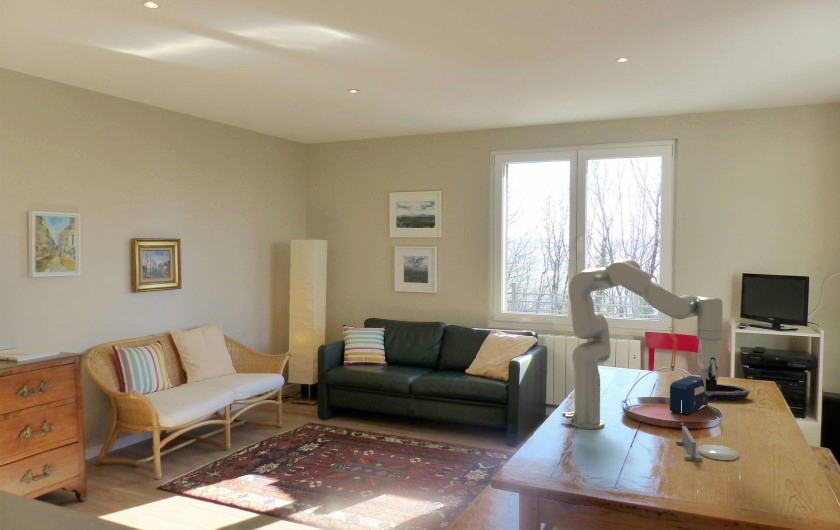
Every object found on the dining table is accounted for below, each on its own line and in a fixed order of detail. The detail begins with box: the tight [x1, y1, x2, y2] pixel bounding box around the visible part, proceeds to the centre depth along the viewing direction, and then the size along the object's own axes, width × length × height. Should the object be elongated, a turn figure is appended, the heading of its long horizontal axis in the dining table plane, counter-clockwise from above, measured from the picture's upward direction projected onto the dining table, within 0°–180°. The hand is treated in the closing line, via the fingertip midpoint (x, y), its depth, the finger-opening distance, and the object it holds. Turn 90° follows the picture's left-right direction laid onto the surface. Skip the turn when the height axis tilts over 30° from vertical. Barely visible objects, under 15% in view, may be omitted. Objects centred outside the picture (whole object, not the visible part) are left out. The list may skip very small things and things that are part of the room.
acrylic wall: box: [675, 425, 703, 462], centre depth 198 cm, size 5×16×6 cm, turn 166°
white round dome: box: [697, 444, 739, 461], centre depth 196 cm, size 12×12×1 cm
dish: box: [708, 383, 751, 401], centre depth 263 cm, size 16×31×5 cm, turn 72°
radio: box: [669, 375, 709, 416], centre depth 244 cm, size 21×9×20 cm, turn 131°
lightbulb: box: [698, 366, 721, 396], centre depth 196 cm, size 6×6×11 cm
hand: (709, 388), depth 196 cm, fingers closed on lightbulb, 4 cm apart
